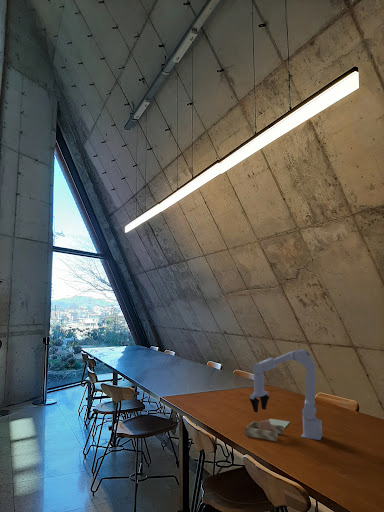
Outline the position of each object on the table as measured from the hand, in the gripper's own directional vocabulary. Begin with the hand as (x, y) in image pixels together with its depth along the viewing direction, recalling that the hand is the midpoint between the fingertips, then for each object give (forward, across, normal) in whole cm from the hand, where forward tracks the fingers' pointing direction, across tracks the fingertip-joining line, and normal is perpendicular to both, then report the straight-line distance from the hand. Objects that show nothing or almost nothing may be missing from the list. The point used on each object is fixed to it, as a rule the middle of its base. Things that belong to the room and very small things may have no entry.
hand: (259, 410), depth 199 cm
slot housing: (+10, +6, +8) cm, 14 cm away
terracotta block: (+10, +6, +8) cm, 14 cm away
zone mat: (+10, -15, +1) cm, 18 cm away
